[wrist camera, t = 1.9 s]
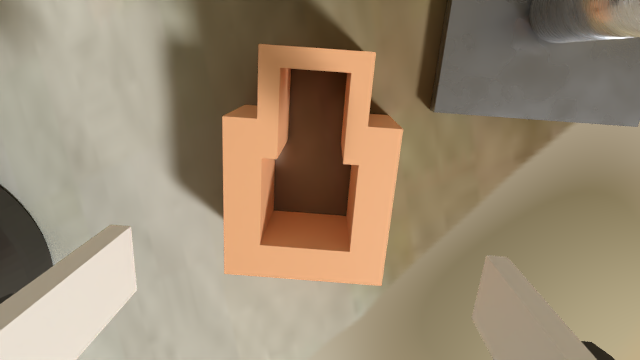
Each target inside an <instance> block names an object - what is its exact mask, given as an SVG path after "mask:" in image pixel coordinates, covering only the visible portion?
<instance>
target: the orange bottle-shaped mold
mask: <svg viewBox="0 0 640 360" xmlns="http://www.w3.org/2000/svg"><path fill="white" fill-rule="evenodd" d="M375 56H376V52H365V51H351V50H337V49H323V48H309V47H295V46H281V45H267V44H258V106H256V105H243V106H241V107H239V108H237V109H235V110H233V111H231V112H229V113H228V114H226V115H224V116H222V134H223V206H224V274H235V275H248V276H261V277H274V278H287V279H300V280H313V281H326V282H339V283H352V284H365V285H378V286H382V278H383V271H384V264H385V257H386V250H387V242H388V235H389V228H390V221H391V214H392V206H393V199H394V192H395V185H396V177H397V170H398V163H399V156H400V149H401V141H402V134H403V129H402V128H401V127H400V126H399V125H398V124H397V123H396V122H395V121H394V120H393V119H392V118H391V117H390V116H389V115H380V114H369V112H370V102H371V93H372V84H373V75H374V66H375ZM291 69H304V70H318V71H332V72H346V73H347V80H346V91H345V103H344V114H343V126H342V137H341V148H342V158H343V164H349V165H351V174H350V185H349V195H348V205H347V215H346V216H342V215H328V214H315V213H302V212H289V211H275V210H273V209H274V177H275V159H277V158H278V157H279V155H280V153H281V151H282V149H283V148H284V146H285V144H286V142H287V140H288V130H289V106H290V82H291Z"/></svg>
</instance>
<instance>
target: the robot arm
mask: <svg viewBox="0 0 640 360" xmlns="http://www.w3.org/2000/svg"><path fill="white" fill-rule="evenodd" d="M136 291H137V284H136V274H135V263H134V253H133V243H132V233H131V226H121V225H109V226H108V227H107V228H105V229H104V230H102V231H101V232H100V233H98V234H97V235H96V236H94V237H93V238H91V239H90V240H89V241H87V242H86V243H84V244H83V245H82V246H80V247H79V248H78V249H76V250H75V251H73V252H72V253H71V254H69V255H68V256H66V257H65V258H64V259H62V260H61V261H59V262H58V263H57V264H55V265H54V266H53V264H52V259H51V256H50V252H49V249H48V247H47V244H46V242H45V240H44V238H43V236H42V234H41V232H40V230H39V229H38V227H37V226H36V224H35V222H34V221H33V220H32V218H31V217H30V216H29V214H28V213H27V212H26V211H25V210H24V209H23V207H22V206H21V205H20V204H19V203H18V202H17V201H16V200H15V199H14V198H13V197H12V196H10V195H9V194H8V193H7V192H6V191H4V190H3V189H2V188H1V187H0V360H76V359H77V358H78V357H79V356H80V355H81V354H82V352H83V351H84V350H85V349H86V348H87V347H88V346H89V344H90V343H91V342H92V341H93V340H94V339H95V338H96V336H97V335H98V334H99V333H100V332H101V331H102V330H103V328H104V327H105V326H106V325H107V324H108V323H109V322H110V320H111V319H112V318H113V317H114V316H115V315H116V314H117V312H118V311H119V310H120V309H121V308H122V307H123V306H124V304H125V303H126V302H127V301H128V300H129V299H130V298H131V296H132V295H133V294H134V293H135V292H136ZM472 320H473V322H474V324H475V326H476V328H477V330H478V331H479V333H480V335H481V337H482V339H483V341H484V343H485V345H486V347H487V349H488V351H489V352H490V354H491V356H492V358H493V360H614V358H613V357H612V356H610V355H609V354H607V353H606V352H605V351H603V350H602V349H600V348H599V347H598V346H596V345H595V344H593V343H592V342H585V341H580V340H579V338H578V337H577V336H576V335H575V334H574V333H573V332H572V330H571V329H570V328H569V327H568V326H567V325H566V324H565V322H564V321H563V320H562V319H561V318H560V317H559V316H558V314H556V312H555V311H554V310H553V309H552V307H551V306H550V305H549V304H548V303H547V302H546V301H545V299H544V298H543V297H542V296H541V295H540V294H539V293H538V292H537V290H536V289H535V288H534V287H533V286H532V285H531V284H530V282H529V281H528V280H527V279H526V278H525V277H524V275H523V274H522V273H521V272H520V271H519V270H518V269H517V267H516V266H515V265H514V264H513V263H512V262H511V261H510V259H509V258H508V257H501V256H489V255H486V259H485V263H484V268H483V272H482V276H481V281H480V285H479V289H478V293H477V298H476V302H475V306H474V311H473V315H472Z"/></svg>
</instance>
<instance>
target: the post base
mask: <svg viewBox="0 0 640 360" xmlns="http://www.w3.org/2000/svg"><path fill="white" fill-rule="evenodd" d="M430 110H431V111H433V112H440V113H453V114H467V115H481V116H495V117H509V118H522V119H536V120H550V121H564V122H578V123H592V124H605V125H619V126H633V127H637V126H638V124H639V121H640V0H447V5H446V12H445V18H444V24H443V31H442V37H441V43H440V50H439V56H438V62H437V68H436V75H435V81H434V87H433V94H432V100H431V106H430Z"/></svg>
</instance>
